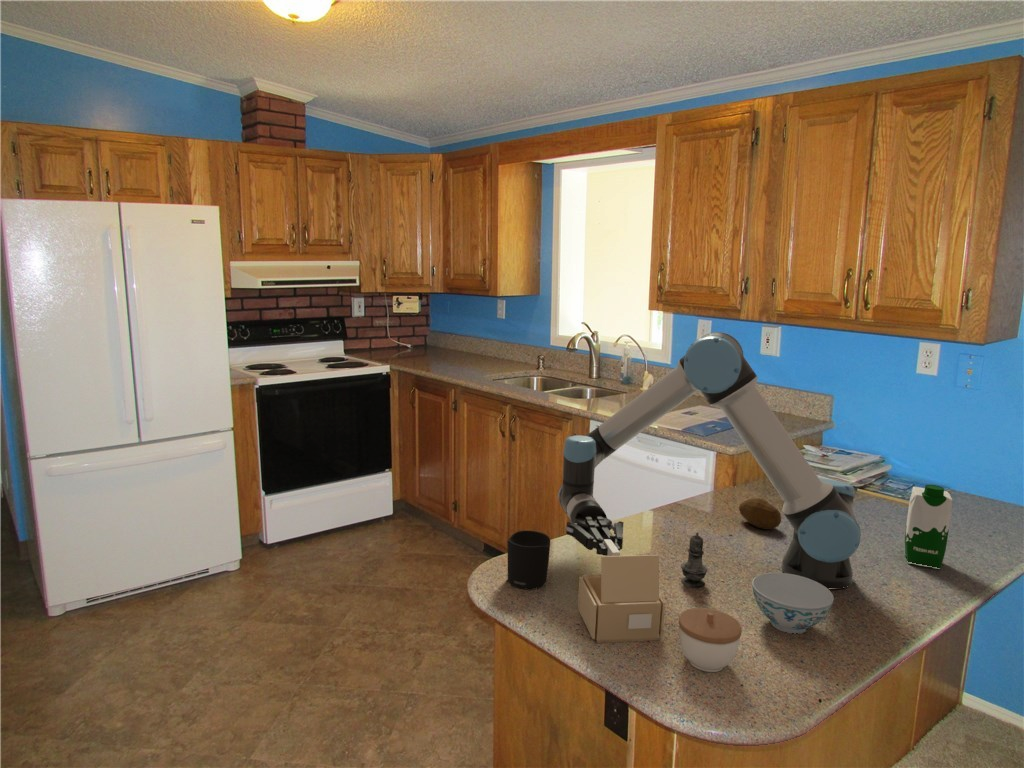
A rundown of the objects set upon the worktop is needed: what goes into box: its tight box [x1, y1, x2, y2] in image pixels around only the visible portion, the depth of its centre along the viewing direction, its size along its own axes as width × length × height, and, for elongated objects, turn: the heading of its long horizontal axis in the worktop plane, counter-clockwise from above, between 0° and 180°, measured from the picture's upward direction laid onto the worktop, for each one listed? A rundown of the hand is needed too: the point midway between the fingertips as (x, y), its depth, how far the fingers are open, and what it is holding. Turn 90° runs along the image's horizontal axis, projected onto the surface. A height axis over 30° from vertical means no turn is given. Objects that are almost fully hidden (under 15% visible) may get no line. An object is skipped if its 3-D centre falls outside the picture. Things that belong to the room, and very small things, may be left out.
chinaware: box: [751, 572, 835, 635], centre depth 135 cm, size 15×15×8 cm
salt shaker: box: [680, 531, 709, 589], centre depth 152 cm, size 6×6×12 cm
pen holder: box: [507, 530, 551, 590], centre depth 150 cm, size 9×9×10 cm
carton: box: [577, 573, 666, 644], centre depth 133 cm, size 14×13×8 cm
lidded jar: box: [678, 607, 742, 673], centre depth 121 cm, size 11×11×9 cm
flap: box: [600, 554, 660, 603], centre depth 127 cm, size 11×1×8 cm, turn 98°
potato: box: [738, 498, 782, 530], centre depth 190 cm, size 8×12×8 cm, turn 45°
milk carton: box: [904, 484, 954, 569], centre depth 168 cm, size 9×9×20 cm
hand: (615, 558), depth 132 cm, fingers closed
